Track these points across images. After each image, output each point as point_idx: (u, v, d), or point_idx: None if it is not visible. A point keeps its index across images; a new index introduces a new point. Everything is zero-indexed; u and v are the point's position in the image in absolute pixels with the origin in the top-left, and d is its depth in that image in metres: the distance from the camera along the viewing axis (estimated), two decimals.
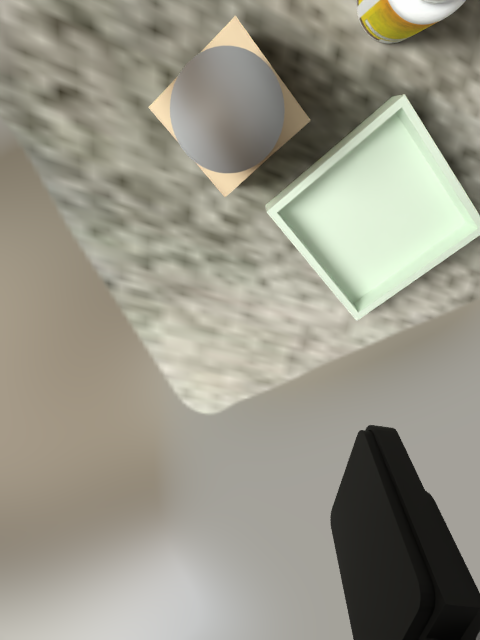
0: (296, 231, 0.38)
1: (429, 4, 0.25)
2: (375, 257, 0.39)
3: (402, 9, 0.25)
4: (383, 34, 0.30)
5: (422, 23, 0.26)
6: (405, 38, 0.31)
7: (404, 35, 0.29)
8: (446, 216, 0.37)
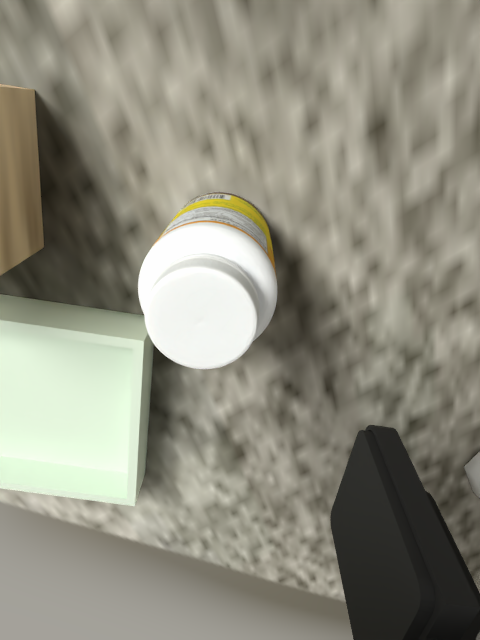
0: None
1: None
2: (24, 433, 0.29)
3: (140, 301, 0.17)
4: None
5: None
6: None
7: None
8: (121, 456, 0.30)
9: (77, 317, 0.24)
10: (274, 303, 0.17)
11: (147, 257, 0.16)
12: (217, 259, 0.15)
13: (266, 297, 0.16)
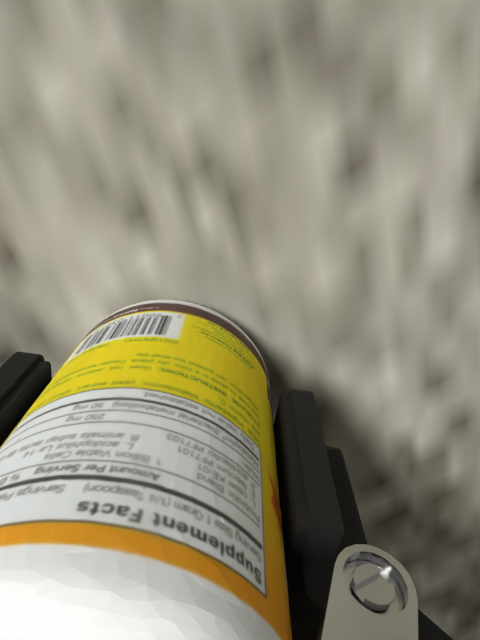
0: None
1: None
2: None
3: None
4: None
5: None
6: None
7: None
8: None
9: None
10: None
11: None
12: None
13: None
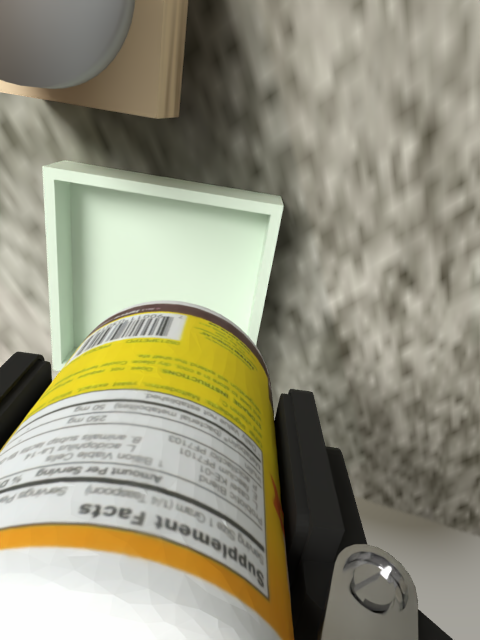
0: (73, 222, 0.26)
1: None
2: None
3: None
4: None
5: None
6: None
7: None
8: None
9: (210, 188, 0.24)
10: None
11: None
12: None
13: None
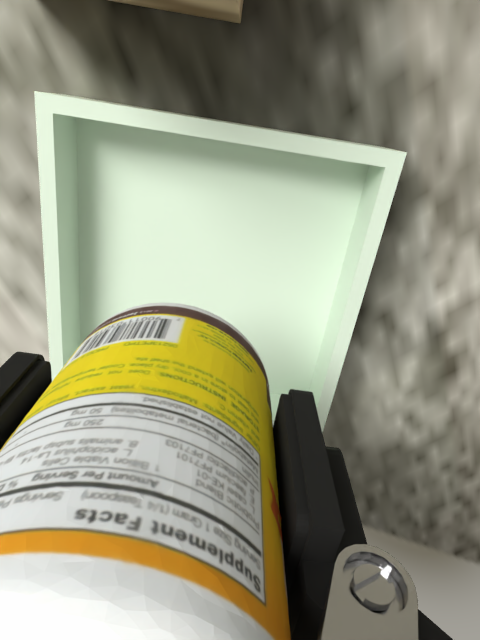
0: (80, 188, 0.18)
1: None
2: None
3: None
4: None
5: None
6: None
7: None
8: (293, 370, 0.22)
9: None
10: None
11: None
12: None
13: None
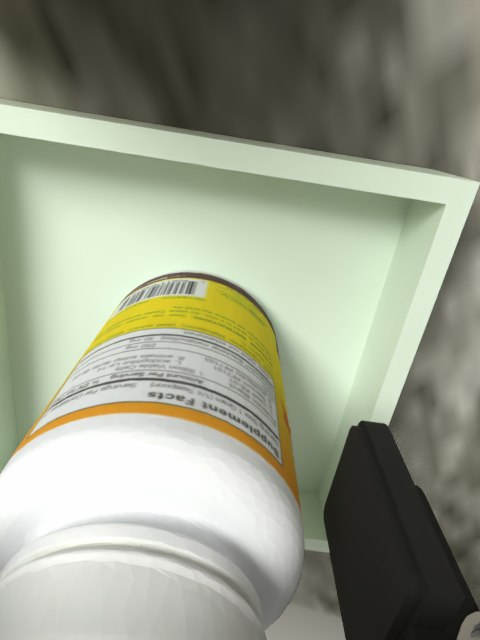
0: (1, 226, 0.13)
1: None
2: None
3: None
4: None
5: None
6: None
7: None
8: (301, 460, 0.16)
9: (296, 149, 0.11)
10: (298, 580, 0.07)
11: None
12: (150, 562, 0.05)
13: (280, 582, 0.07)
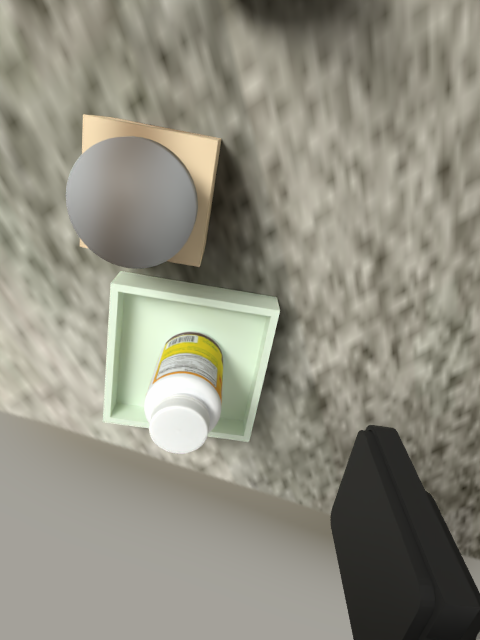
0: (124, 314, 0.36)
1: None
2: None
3: (145, 413, 0.30)
4: None
5: None
6: None
7: None
8: (235, 405, 0.40)
9: (227, 295, 0.34)
10: (219, 414, 0.30)
11: (150, 391, 0.29)
12: (187, 398, 0.28)
13: (214, 412, 0.30)
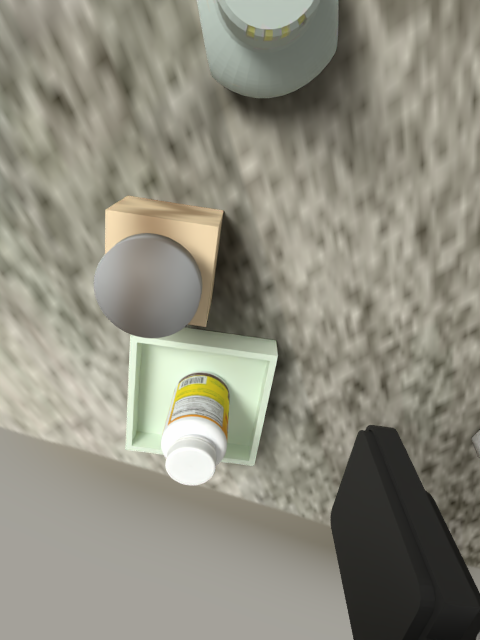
0: (142, 357, 0.41)
1: None
2: None
3: (162, 449, 0.35)
4: None
5: None
6: None
7: None
8: (241, 433, 0.44)
9: (231, 341, 0.39)
10: (225, 450, 0.35)
11: (165, 432, 0.34)
12: (197, 439, 0.33)
13: (220, 449, 0.35)
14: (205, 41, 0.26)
